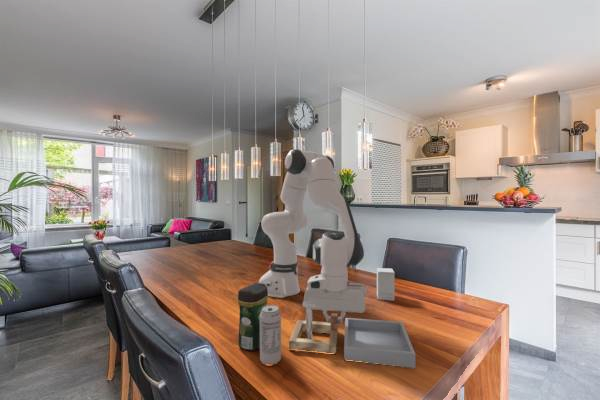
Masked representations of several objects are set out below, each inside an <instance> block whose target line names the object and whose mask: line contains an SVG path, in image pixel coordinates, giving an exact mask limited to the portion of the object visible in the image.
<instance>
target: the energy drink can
mask: <svg viewBox="0 0 600 400" xmlns="http://www.w3.org/2000/svg"><path fill="white" fill-rule="evenodd" d="M281 359H282V312H281V311H280V308H279V306H278V305H275V304H269V305H268V304H267V306H264V307H263V308H262V311H261V313H260V348H259V361H260V362H261V364H262V363H264V364H275V363H277V362H280V361H281Z"/></svg>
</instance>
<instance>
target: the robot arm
mask: <svg viewBox="0 0 600 400" xmlns="http://www.w3.org/2000/svg"><path fill="white" fill-rule="evenodd" d="M284 169H285V170H286V174H285V177H284V181H283V184H282V188H281V192H280V200H281V202H282V203H283V204H284V210H283V211H274V212H269V213H267V214H265V215H264V216H263V217H262V219H261V224H260V226H261V230H262V231H263V232H264V234H265V235H267V236H268V238H269V239H270V241H271V244H272V246H273V260H272V261H271V262H270V264H269V270H268V271H267V272H265V273H264V274H263V275H262V276H261V277H260V278H259V281H258V283H262V284H265V285H266V287H267V291H268V297H272V298H279V299H283V298H286V297H291V296H295V295H298V294H299V293H301V289H300V285H299V280H298V279H299V278H298V271H299V266H298V260H297V258H298V257H297V254H298V251H297V246H296V244H295V243H294V242H292V241H291V239H290V235H289V234H296V233H299V232H301V231H304V230H305V229H306V228H307V227H308V218H307V216H306V214H305V213H304V210H303V209H304V208H303V207H304V205H303V204H304V200H305V195H306V191H308V195H309V200H311V202H312V203H313V204H314V205H316V206H318V207H319V208H321V209H325V210H328V211H330V212H332V213H333V214H335V215H337V216H338V218H339V219H340V222H341V223H340V224H341V226H342V230H343V232H340V231H337V230H336V231H335V230H329V231H326V232H324V233H323V234H322V237H321V238H318V239H316V240H315V241H314V242H313V244H312V252H311V253H312V255H311V257H312V260H313V262H314V263H315V264H317V265H319V266H321V270H320V274H315V275H313V276H310V277H309V278H308V280H307V287H306V288H305V291H304V296H303V302H316V307H315V308H312V310H318V311H319V310H320V311H322V314H323V316H324V318H325V321H326V323H331V316H330V315H329V314H328V312H329V311H330V312H341V313H340V316H338V325H343V319H345V316H346V314H347V313H356V314H358V313H359V314H363V313H364V312H365V311H366V309H367V307H366V306H367V305H366V298H365V297H366V296H367V290H368V289H367V286H366V285H365V284H362V282H351V281H349V272H348V268H347V266H357V265H358V264H360V263H361V262H362V260H363V259H364V255H365V251H364V250H365V249H364V245H363V243H362V241H361V238H360V237H359V233H358V230H357V227H356V223H355V220H354V216H353V212H352V210H351V207H350V204H349V201H348V199H347V197H345V196H344V195H342V194H341V192H340V191H339V189H338V185H337V179H336V174H335V170H334V169H335V162H334V160H333V158H332V157H331V156H329V155H327V154H322V153H320V152H315V151H309V150H302V149H299V148H298V149H296V148H295V149H291V150H289V151H288V152H287V153H286V156H285V158H284ZM307 189H308V190H307ZM304 309H306V307H304ZM346 312H347V313H346Z"/></svg>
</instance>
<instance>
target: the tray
mask: <svg viewBox="0 0 600 400" xmlns="http://www.w3.org/2000/svg"><path fill="white" fill-rule="evenodd" d="M344 319H345V321H344V343H343V360H344V359H346V360H353V361H362V362H368V363H378V364H385V365H395V366H402V367H401V368H404V367H411V368H410V369H414V368H415V369H416V352H415V350H414V348H413V345H412V342H411V339H410V337H409V335H408V332H407V330H406V327H405V326H404V322H403V321H396V320H395V321H394V320H380V319H369V318H368V319H367V318H356V317H353V318H352V317H344ZM385 365H384V366H385Z"/></svg>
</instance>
